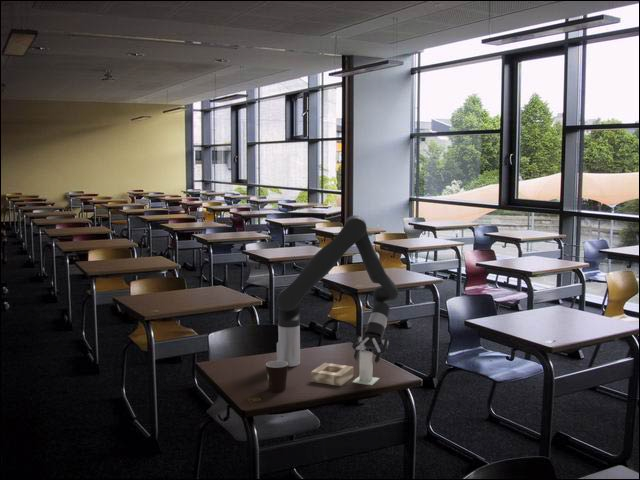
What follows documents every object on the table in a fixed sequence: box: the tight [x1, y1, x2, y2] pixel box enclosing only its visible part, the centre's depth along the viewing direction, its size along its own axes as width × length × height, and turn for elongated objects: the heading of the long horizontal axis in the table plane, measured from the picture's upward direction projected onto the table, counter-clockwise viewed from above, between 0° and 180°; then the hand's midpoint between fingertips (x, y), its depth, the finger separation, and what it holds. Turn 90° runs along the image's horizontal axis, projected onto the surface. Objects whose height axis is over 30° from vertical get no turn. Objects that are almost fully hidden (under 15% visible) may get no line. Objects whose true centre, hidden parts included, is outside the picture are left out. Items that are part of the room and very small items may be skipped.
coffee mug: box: [265, 360, 289, 393], centre depth 248 cm, size 12×9×10 cm
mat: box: [351, 376, 380, 386], centre depth 256 cm, size 8×8×1 cm
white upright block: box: [358, 350, 374, 382], centre depth 255 cm, size 5×7×11 cm
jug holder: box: [310, 362, 354, 387], centre depth 258 cm, size 13×13×4 cm
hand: (365, 360), depth 255 cm, fingers open, 8 cm apart
